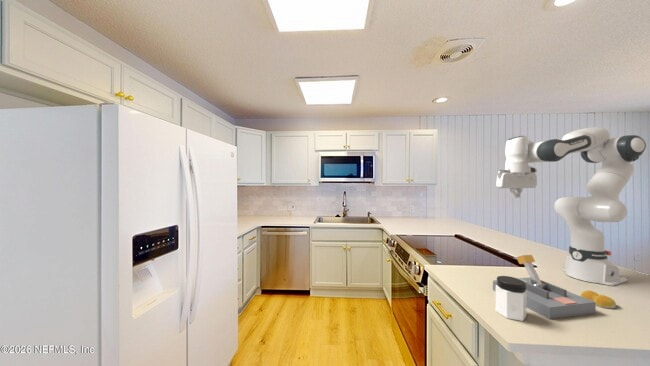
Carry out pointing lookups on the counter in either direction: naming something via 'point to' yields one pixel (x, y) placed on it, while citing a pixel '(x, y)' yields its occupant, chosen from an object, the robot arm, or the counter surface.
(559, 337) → the counter surface
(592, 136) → the robot arm
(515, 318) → the jar
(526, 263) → the breaker lever
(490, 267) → the counter surface
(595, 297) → the bread roll
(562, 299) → the switch panel
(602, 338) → the counter surface
